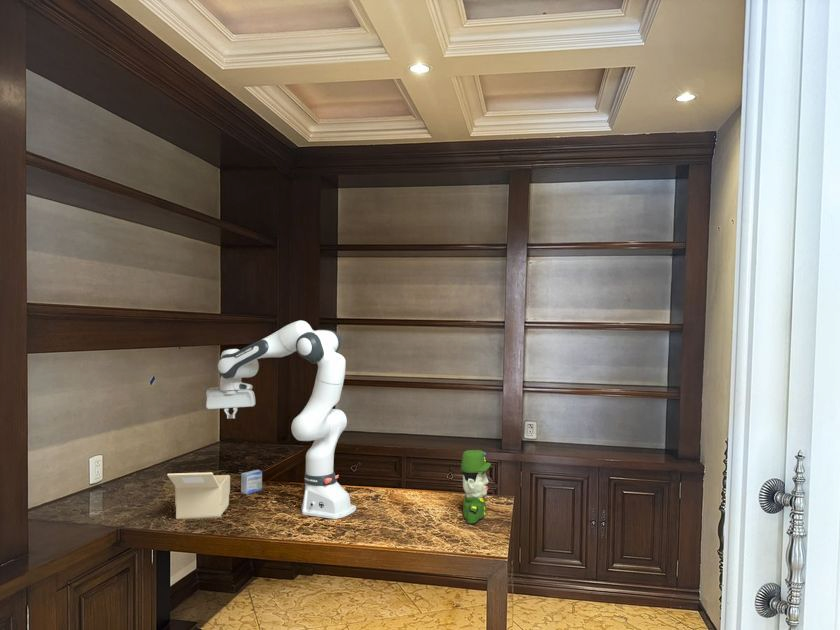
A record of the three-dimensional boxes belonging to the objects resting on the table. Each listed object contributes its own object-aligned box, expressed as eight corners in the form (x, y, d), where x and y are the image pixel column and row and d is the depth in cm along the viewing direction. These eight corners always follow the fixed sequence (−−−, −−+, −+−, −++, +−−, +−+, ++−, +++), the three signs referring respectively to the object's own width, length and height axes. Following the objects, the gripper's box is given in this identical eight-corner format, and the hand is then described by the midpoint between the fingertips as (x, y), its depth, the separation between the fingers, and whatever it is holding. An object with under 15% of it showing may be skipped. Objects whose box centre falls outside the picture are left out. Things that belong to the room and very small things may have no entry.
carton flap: (167, 473, 188) (167, 475, 188) (212, 472, 190) (211, 474, 190) (177, 486, 199) (176, 488, 198) (219, 485, 200) (219, 487, 200)
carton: (187, 505, 213) (187, 476, 213) (230, 504, 215) (230, 474, 215) (174, 519, 198) (175, 487, 198) (221, 517, 200) (221, 485, 200)
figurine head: (488, 526, 193) (488, 458, 193) (456, 523, 195) (456, 456, 196) (492, 506, 214) (493, 445, 214) (464, 504, 217) (464, 443, 217)
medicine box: (246, 494, 227) (247, 474, 227) (240, 492, 229) (240, 473, 229) (262, 490, 233) (262, 470, 233) (256, 488, 236) (256, 469, 236)
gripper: (203, 387, 224) (203, 420, 222) (252, 385, 226) (253, 417, 224) (208, 387, 230) (208, 419, 228) (256, 385, 232) (256, 416, 230)
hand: (231, 418), depth 226 cm, fingers closed
